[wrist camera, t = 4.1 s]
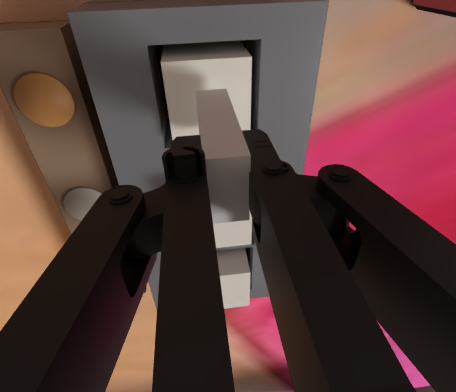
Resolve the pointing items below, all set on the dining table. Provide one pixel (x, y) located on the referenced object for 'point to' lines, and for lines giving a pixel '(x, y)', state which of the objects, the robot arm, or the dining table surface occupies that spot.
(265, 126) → the button panel
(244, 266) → the far button
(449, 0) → the puzzle cube
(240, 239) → the middle button
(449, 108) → the dining table surface
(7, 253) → the dining table surface
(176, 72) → the near button
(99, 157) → the pattern sign
